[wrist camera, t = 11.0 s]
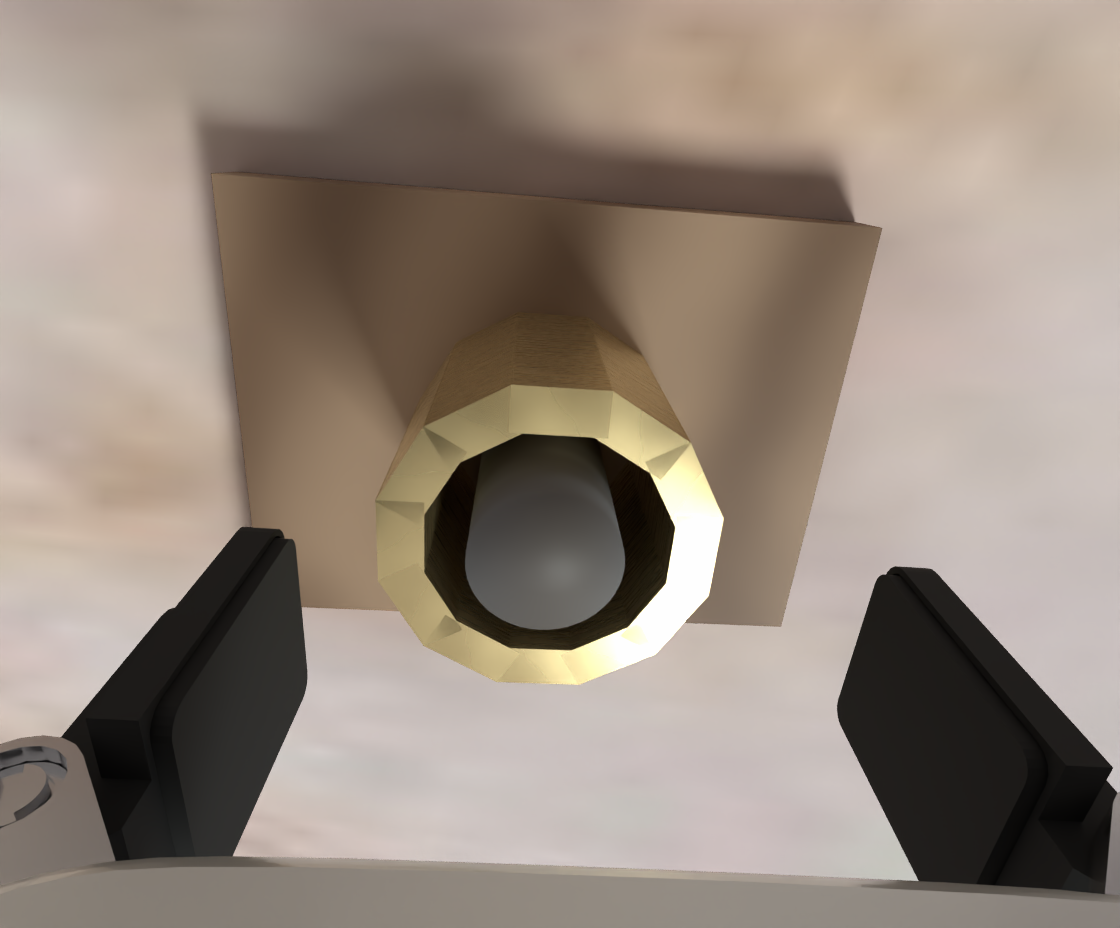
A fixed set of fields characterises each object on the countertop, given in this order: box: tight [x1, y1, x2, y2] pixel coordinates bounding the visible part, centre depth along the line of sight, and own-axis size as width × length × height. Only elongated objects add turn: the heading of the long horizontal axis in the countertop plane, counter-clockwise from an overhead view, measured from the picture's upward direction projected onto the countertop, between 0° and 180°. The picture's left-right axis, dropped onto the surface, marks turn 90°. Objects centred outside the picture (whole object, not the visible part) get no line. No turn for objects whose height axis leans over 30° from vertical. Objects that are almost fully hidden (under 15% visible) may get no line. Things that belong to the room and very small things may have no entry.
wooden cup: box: [375, 312, 724, 685], centre depth 16 cm, size 7×7×6 cm
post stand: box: [211, 172, 882, 630], centre depth 17 cm, size 16×12×8 cm
